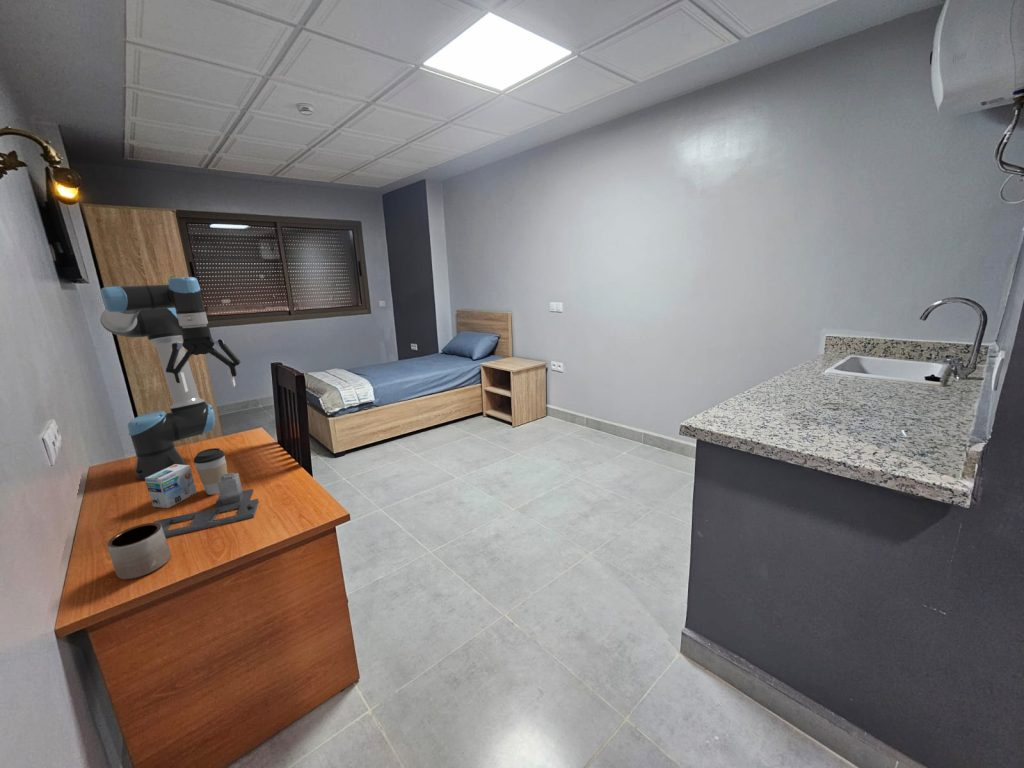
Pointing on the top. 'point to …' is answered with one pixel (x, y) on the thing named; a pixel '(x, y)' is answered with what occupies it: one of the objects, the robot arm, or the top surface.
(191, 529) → the rack rail
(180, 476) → the light bulb box
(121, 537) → the planter
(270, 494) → the top surface
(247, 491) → the rubber mat
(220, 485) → the grey square block
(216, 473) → the coffee cup
